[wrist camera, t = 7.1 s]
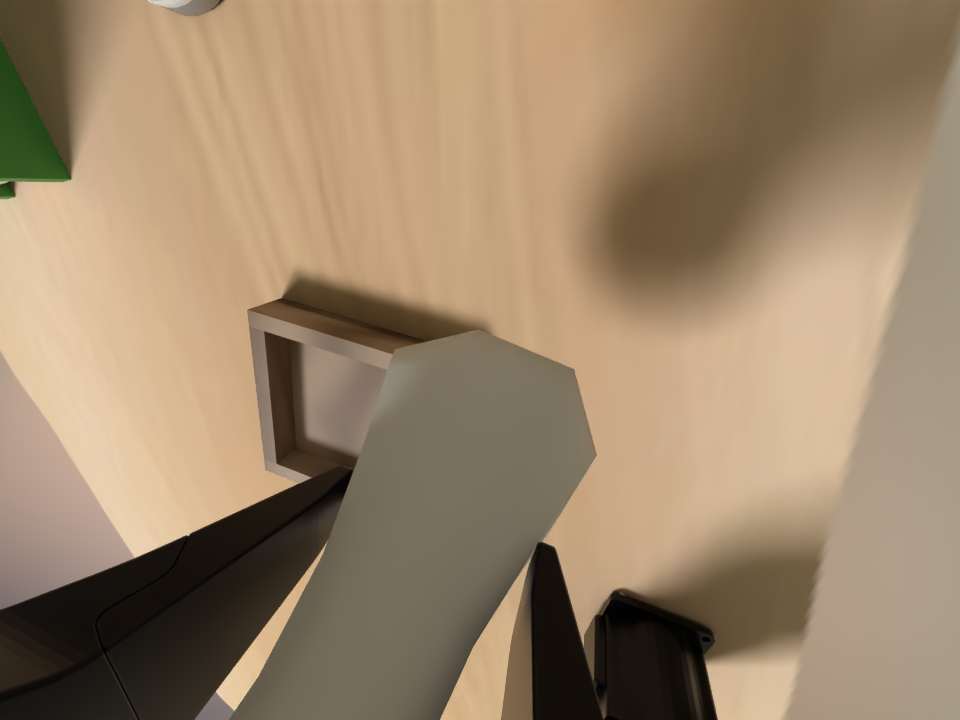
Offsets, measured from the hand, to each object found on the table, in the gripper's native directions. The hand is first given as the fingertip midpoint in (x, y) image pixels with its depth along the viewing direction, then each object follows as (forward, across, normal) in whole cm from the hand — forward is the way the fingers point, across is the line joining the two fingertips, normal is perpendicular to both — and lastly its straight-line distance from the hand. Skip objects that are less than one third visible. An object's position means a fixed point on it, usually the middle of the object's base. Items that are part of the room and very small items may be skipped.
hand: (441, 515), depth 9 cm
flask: (+4, 0, 0) cm, 4 cm away
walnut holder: (+12, +9, +8) cm, 17 cm away
